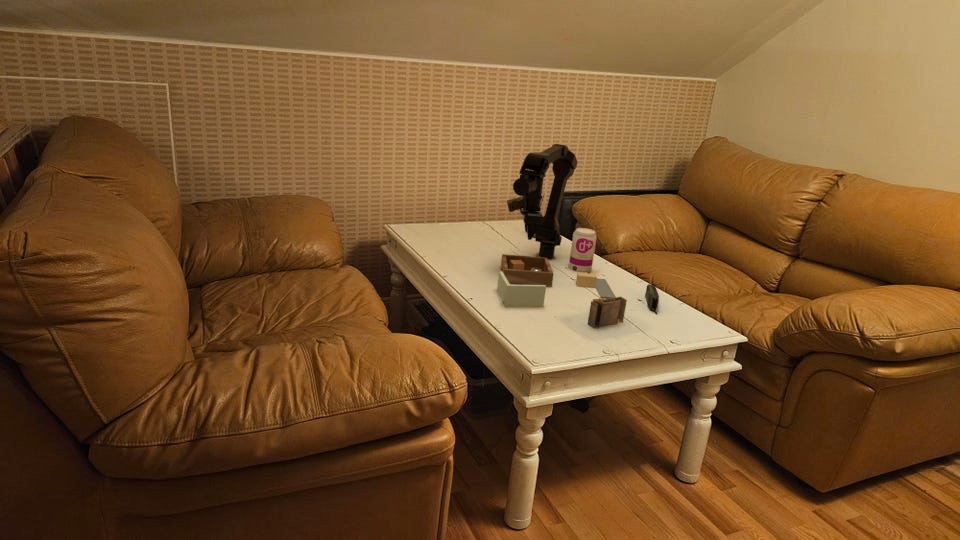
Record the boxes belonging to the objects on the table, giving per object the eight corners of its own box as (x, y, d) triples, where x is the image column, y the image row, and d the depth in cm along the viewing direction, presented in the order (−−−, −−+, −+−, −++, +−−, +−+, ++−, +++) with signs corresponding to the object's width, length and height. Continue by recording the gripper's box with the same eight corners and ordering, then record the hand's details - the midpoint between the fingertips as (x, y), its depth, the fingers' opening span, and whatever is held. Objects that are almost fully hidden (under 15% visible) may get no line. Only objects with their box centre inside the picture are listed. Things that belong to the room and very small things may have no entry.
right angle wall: (543, 309, 183) (546, 286, 180) (504, 308, 180) (507, 285, 178) (532, 293, 194) (535, 272, 191) (496, 293, 191) (499, 271, 189)
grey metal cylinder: (529, 278, 203) (530, 267, 202) (539, 278, 203) (541, 267, 202) (530, 282, 200) (531, 270, 198) (540, 282, 200) (542, 271, 198)
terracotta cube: (508, 270, 208) (509, 260, 207) (519, 270, 209) (520, 259, 208) (512, 275, 204) (513, 264, 203) (523, 274, 206) (524, 263, 204)
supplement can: (590, 275, 213) (597, 235, 208) (567, 272, 214) (573, 232, 209) (591, 268, 221) (597, 229, 216) (568, 265, 222) (574, 226, 217)
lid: (556, 278, 209) (558, 264, 208) (604, 282, 210) (606, 268, 208) (563, 297, 193) (565, 282, 192) (615, 301, 194) (618, 286, 192)
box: (500, 268, 212) (502, 254, 210) (545, 272, 212) (547, 257, 210) (502, 285, 196) (504, 269, 195) (551, 289, 197) (553, 273, 195)
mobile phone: (646, 282, 198) (652, 298, 184) (655, 283, 198) (662, 299, 184) (643, 296, 200) (649, 313, 185) (652, 297, 199) (659, 314, 185)
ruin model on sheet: (594, 330, 171) (599, 298, 168) (587, 325, 174) (592, 294, 170) (623, 324, 177) (629, 293, 174) (616, 320, 179) (622, 290, 176)
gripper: (507, 183, 210) (503, 226, 216) (511, 195, 193) (506, 242, 198) (539, 186, 211) (533, 228, 216) (546, 198, 193) (540, 244, 199)
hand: (528, 235), depth 207 cm, fingers open, 9 cm apart
